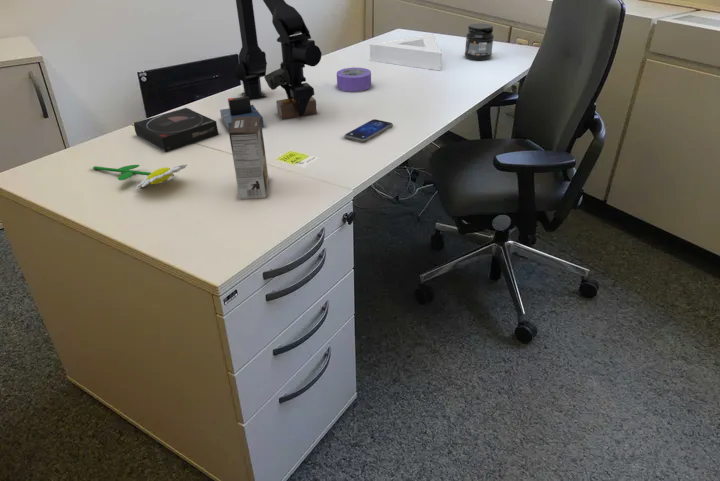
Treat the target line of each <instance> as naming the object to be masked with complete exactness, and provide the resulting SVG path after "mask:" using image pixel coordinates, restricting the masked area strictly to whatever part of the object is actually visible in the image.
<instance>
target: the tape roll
mask: <svg viewBox="0 0 720 481" xmlns="http://www.w3.org/2000/svg"><path fill="white" fill-rule="evenodd" d="M371 87H372V71H371V70H370V69H369V68H366V67H365V68H364V67H347V68H342V69H340V70H339V69H338V70H337V71H336V88H337V89H338V90H339V91H342V92H348V93H357V92H363V91H368V90H369V89H370V88H371Z"/></svg>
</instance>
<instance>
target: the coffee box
mask: <svg viewBox="0 0 720 481" xmlns="http://www.w3.org/2000/svg"><path fill="white" fill-rule="evenodd" d="M228 136H229V142H230V149H231V155H232V162H233V167H234V173H235V179H236V186H237V192H238V198H239V199H240V200H247V199H265V198H267V197H268V189H269V180H270V177H269V170H268V164H267V163H268V162H267V156H266V155H267V154H266V148H265V141H264V133H263V127H262V125H261V117H260V116H258V117H233V118H232V122H231V126H230V130H229V131H228Z"/></svg>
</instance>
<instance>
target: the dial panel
mask: <svg viewBox="0 0 720 481" xmlns="http://www.w3.org/2000/svg"><path fill="white" fill-rule="evenodd" d="M251 111H252V113H246V114H240V115H234V116H231V114H230V109H229V107H228V108H223V109H222V108H221V109H220V110H219V113H220V118H221V121H222V122H223V124H224V126H225V128H226V130H227V131H228V132H229V130H230V126H231V122H232V118H233V117H258V116H260V117H261V125H262V128H264V127H265V125H264V124H265V123H264V117H263V116H262V114H261V113H260V112H259V110H258V109H257V108H256V107H255V105H254V104H251Z"/></svg>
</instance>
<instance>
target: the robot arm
mask: <svg viewBox="0 0 720 481" xmlns="http://www.w3.org/2000/svg"><path fill="white" fill-rule="evenodd" d="M262 1H263V3H264V5H265V6H266V7H267V9H268V10H269V12H270V14H271V17H272V18H271V19H272V20H271V22H272V25H273V28H274V29H275V31H276V33H277V34H278V38H276V42H278V43H280V47H281V56H282V57H281V58H282V59H281V60H282V61H281V62H280V64H279V66H280V68H278V69H275V70H273V71H271V72H269V73H267V66H268V62H267V57H266V56H267V54H266V51H263V50H262V49H261V48H260V46H259V42H258V34H257V27H256V25H257V24H256V19H255V11H254V2H253V0H235V6H236V12H237V19H238V26H239V32H240V40H241V41H240V42H241V48H240V50H239V53H238V65H237V66H236V68H235V71H234V75H235V78H236V80H239V81H241V82H242V87H243V92H241V95H242V97H245V96H249V98H250V100H254V99H261V98H265V97H266V95H265V93H264V92H263V91H262V84H261V83H262V82H261V78H262V77H264V80H265V82H266V84H267V86H268V87H269V88H270V90H272V91H274V90H276V89H277V88H278V87H281V88H282V89H283V90H284V92H285V93H286V97H287V99H289V98H293V99H294V100H295V101H296V105H297V109H298V113H299V116H301V117H304V116H303V115H304V112H305V110H306V107H307V105H308V102H309V100H310V98H311V97H313V96H315V88H314V87H313V86H312V85H311V84H309V83H308V82H306V81H307V78H306V77H305V76H304V69H305V68H306V66H308V67H316V66H317V65H318V64H320V63H321V60H322V55H323V54H322V51H321V48H320V47H319V46H318V45H316V41H315V40H314V39H312V36H311V33H310V30H309V29H308V27H307V25H306V23H305V21H304V19H303V16H302V15H301V14H300V12H298V10H297V9H296V8H295V7H294V6H292V5H290V4H288V2H287V3H286V1H285V0H262Z"/></svg>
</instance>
